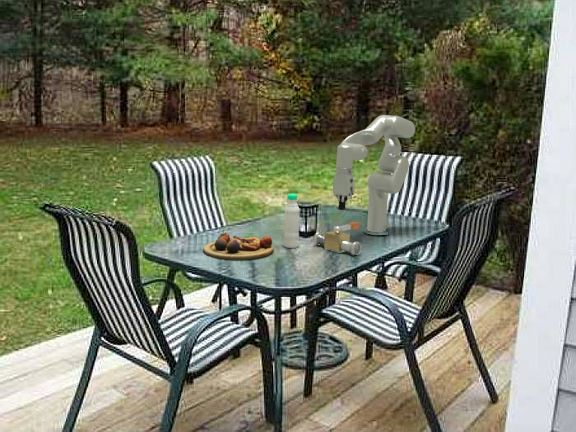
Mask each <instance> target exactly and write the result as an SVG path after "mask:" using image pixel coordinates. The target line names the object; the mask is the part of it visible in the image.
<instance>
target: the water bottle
mask: <svg viewBox="0 0 576 432" xmlns="http://www.w3.org/2000/svg"><path fill="white" fill-rule="evenodd" d="M286 199H287V202H286V204H285V207H284V210H283V211H284V216H283V217H284V218H283V229H284V231H283V247H284V248H288V249H295V248H298V247H299V246H300V245H299V237H300V232H299V229H300V211H301V210H300V207H299V205H298V202H297V201H298V194H296V193H288V194H287V196H286Z"/></svg>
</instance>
